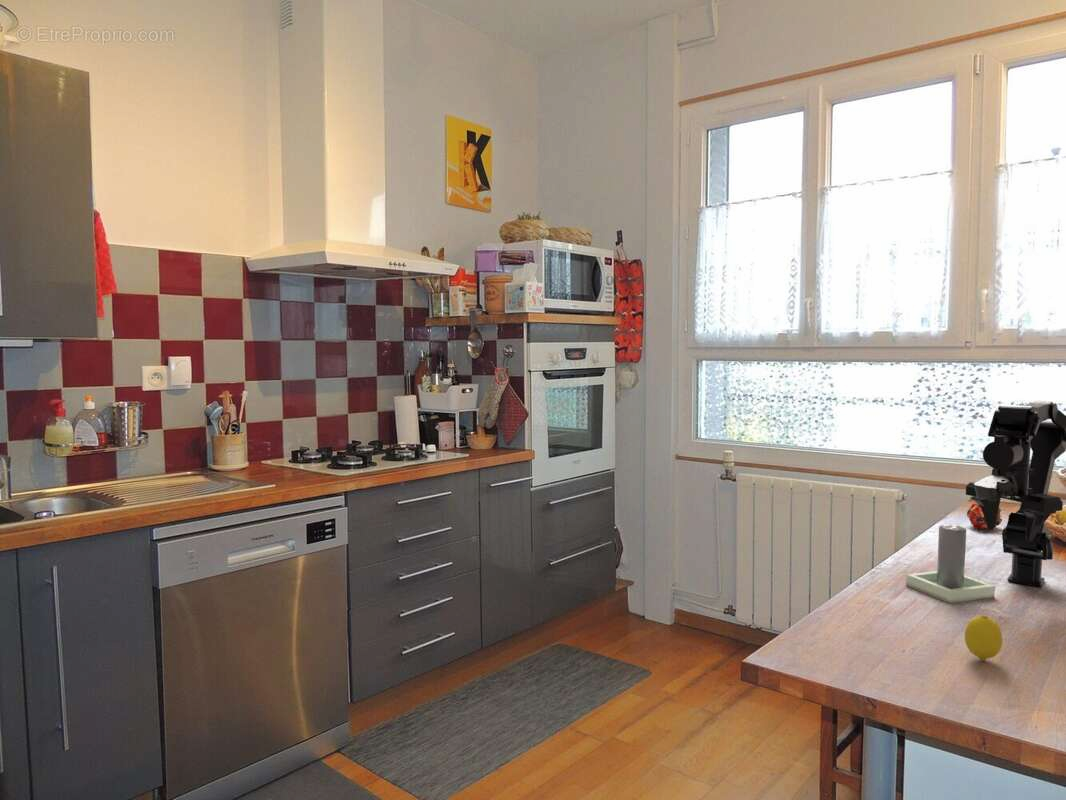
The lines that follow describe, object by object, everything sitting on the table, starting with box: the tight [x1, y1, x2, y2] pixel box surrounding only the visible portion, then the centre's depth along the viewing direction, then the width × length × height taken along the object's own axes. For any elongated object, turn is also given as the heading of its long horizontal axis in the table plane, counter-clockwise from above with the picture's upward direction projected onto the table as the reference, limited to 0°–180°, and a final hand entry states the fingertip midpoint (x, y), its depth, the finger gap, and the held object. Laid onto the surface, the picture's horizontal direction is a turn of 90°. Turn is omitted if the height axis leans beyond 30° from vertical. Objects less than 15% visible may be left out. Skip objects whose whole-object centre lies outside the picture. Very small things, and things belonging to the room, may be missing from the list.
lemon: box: [964, 614, 1003, 662], centre depth 129 cm, size 6×6×8 cm
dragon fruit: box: [966, 503, 1003, 531], centre depth 220 cm, size 8×8×12 cm
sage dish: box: [905, 570, 996, 604], centre depth 165 cm, size 12×12×2 cm
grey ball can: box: [936, 524, 967, 589], centre depth 164 cm, size 5×5×14 cm
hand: (1009, 535), depth 162 cm, fingers open, 9 cm apart
